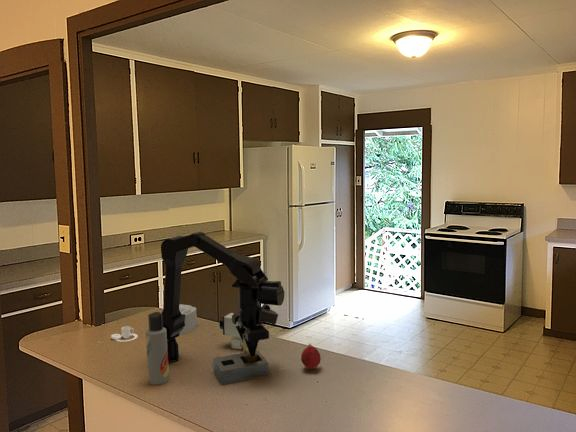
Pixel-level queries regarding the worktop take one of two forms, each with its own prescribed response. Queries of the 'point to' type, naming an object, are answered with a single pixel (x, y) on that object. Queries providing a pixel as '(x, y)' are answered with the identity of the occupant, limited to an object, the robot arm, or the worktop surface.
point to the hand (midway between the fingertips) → (250, 353)
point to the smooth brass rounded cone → (248, 354)
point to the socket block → (239, 368)
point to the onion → (310, 357)
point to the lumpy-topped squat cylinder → (188, 318)
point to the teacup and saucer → (124, 334)
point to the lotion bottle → (157, 350)
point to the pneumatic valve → (231, 331)
